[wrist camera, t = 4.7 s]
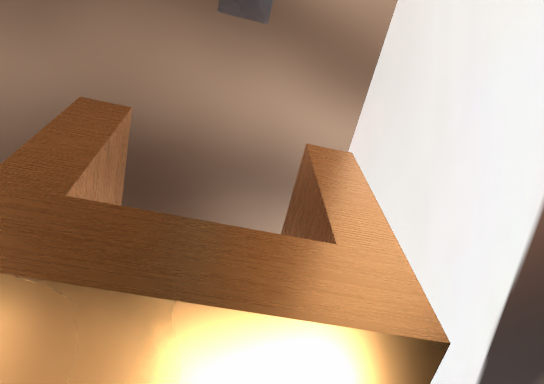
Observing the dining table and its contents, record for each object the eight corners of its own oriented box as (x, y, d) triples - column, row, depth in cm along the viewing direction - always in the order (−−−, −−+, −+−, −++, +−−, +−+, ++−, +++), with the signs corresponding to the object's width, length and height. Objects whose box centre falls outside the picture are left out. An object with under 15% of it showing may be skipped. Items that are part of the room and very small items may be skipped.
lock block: (278, 380, 12) (296, 646, 7) (64, 350, 11) (-64, 624, 7) (352, 152, 9) (451, 343, 5) (80, 96, 8) (-109, 256, 4)
